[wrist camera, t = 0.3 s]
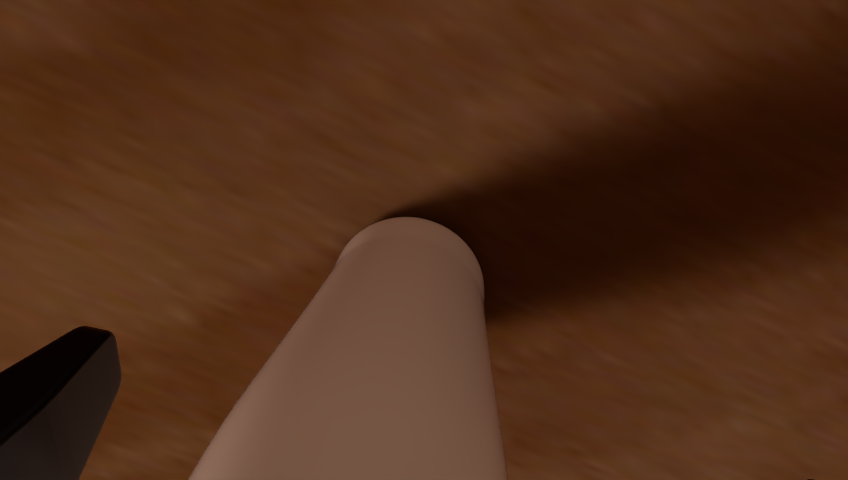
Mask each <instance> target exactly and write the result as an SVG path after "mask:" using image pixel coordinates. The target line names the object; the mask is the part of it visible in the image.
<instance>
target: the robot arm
mask: <svg viewBox="0 0 848 480" xmlns="http://www.w3.org/2000/svg"><path fill="white" fill-rule="evenodd" d="M120 383H121V367H120V361H119V355H118V349H117V343H116V339H115V336H114V335H113V333H112V332H110V331H107V330H102V329H98V328H93V327H88V326H81V327H78V328H75V329H73V330H72V331H70V332H68V333H67V334H65V335H63V336H62V337H60V338H58V339H56V340H55V341H53V342H51V343H50V344H48V345H46V346H45V347H43V348H41V349H39V350H38V351H36V352H34V353H33V354H31V355H29V356H28V357H26V358H24V359H23V360H21V361H19V362H17V363H16V364H14V365H12V366H11V367H9V368H7V369H6V370H4V371H2V372H0V480H79V478H80V476H81V474H82V471H83V469H84V467H85V465H86V462H87V460H88V458H89V456H90V453H91V451H92V449H93V447H94V444H95V442H96V440H97V438H98V435H99V433H100V431H101V429H102V426H103V424H104V422H105V420H106V417H107V415H108V413H109V411H110V408H111V406H112V404H113V402H114V399H115V397H116V395H117V392H118V390H119V387H120ZM808 480H813V479H808Z"/></svg>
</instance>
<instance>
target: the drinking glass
mask: <svg viewBox="0 0 848 480" xmlns="http://www.w3.org/2000/svg"><path fill="white" fill-rule="evenodd" d="M188 480H508V474H507V466H506V459H505V452H504V445H503V438H502V431H501V425H500V418H499V411H498V405H497V398H496V391H495V385H494V378H493V371H492V364H491V357H490V350H489V342H488V335H487V327H486V320H485V312H484V280H483V275H482V271H481V268H480V265H479V263H478V261H477V259H476V257H475V255H474V253H473V252H472V250H471V249H470V248H469V246H468V245H467V244H466V243H465V242H464V241H463V240H462V239H461V238H460V237H459V236H458V235H457V234H455V233H454V232H453V231H451V230H450V229H448V228H446V227H445V226H443V225H440V224H438V223H436V222H433V221H430V220H427V219H423V218H416V217H395V218H389V219H385V220H382V221H379V222H376V223H374V224H372V225H370V226H368V227H366V228H364V229H363V230H362V231H360V232H359V233H358V234H357V235H355V236H354V237H353V238H352V239H351V240H350V241H349V242H348V244H347V245H346V246H345V248H344V249H343V251H342V252H341V254H340V256H339V258H338V259H337V261H336V263H335V265H334V268H333V270H332V271H331V273H330V274H329V276H328V277H327V278H326V280H325V281H324V283H323V284H322V286H321V287H320V288H319V290H318V291H317V293H316V294H315V295H314V297H313V298H312V300H311V301H310V302H309V304H308V305H307V306H306V308H305V309H304V311H303V312H302V313H301V315H300V316H299V317H298V319H297V320H296V322H295V323H294V324H293V326H292V327H291V328H290V330H289V331H288V333H287V334H286V335H285V337H284V338H283V339H282V341H281V342H280V343H279V345H278V346H277V347H276V349H275V350H274V351H273V353H272V354H271V356H270V357H269V358H268V360H267V361H266V362H265V364H264V365H263V366H262V368H261V369H260V370H259V372H258V373H257V374H256V376H255V377H254V379H253V380H252V381H251V383H250V384H249V385H248V387H247V388H246V389H245V391H244V392H243V394H242V395H241V396H240V398H239V399H238V401H237V402H236V403H235V405H234V406H233V408H232V409H231V410H230V412H229V413H228V415H227V416H226V418H225V419H224V421H223V422H222V424H221V425H220V427H219V428H218V430H217V432H216V433H215V435H214V436H213V438H212V440H211V441H210V443H209V444H208V446H207V448H206V450H205V451H204V453H203V455H202V456H201V458H200V460H199V461H198V463H197V465H196V467H195V468H194V470H193V472H192V474H191V476H190V477H189V479H188Z"/></svg>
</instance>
